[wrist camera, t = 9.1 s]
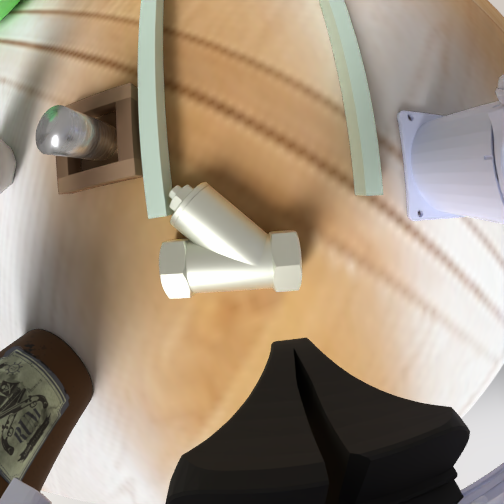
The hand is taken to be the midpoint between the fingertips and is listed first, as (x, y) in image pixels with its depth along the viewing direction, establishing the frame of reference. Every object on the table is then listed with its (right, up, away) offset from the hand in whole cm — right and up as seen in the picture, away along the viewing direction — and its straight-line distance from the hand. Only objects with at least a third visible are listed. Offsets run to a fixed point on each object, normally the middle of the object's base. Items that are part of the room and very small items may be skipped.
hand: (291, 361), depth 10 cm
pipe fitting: (-3, +5, +9) cm, 11 cm away
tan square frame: (-12, +12, +7) cm, 18 cm away
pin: (-12, +12, +7) cm, 18 cm away
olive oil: (-21, -8, +11) cm, 25 cm away
